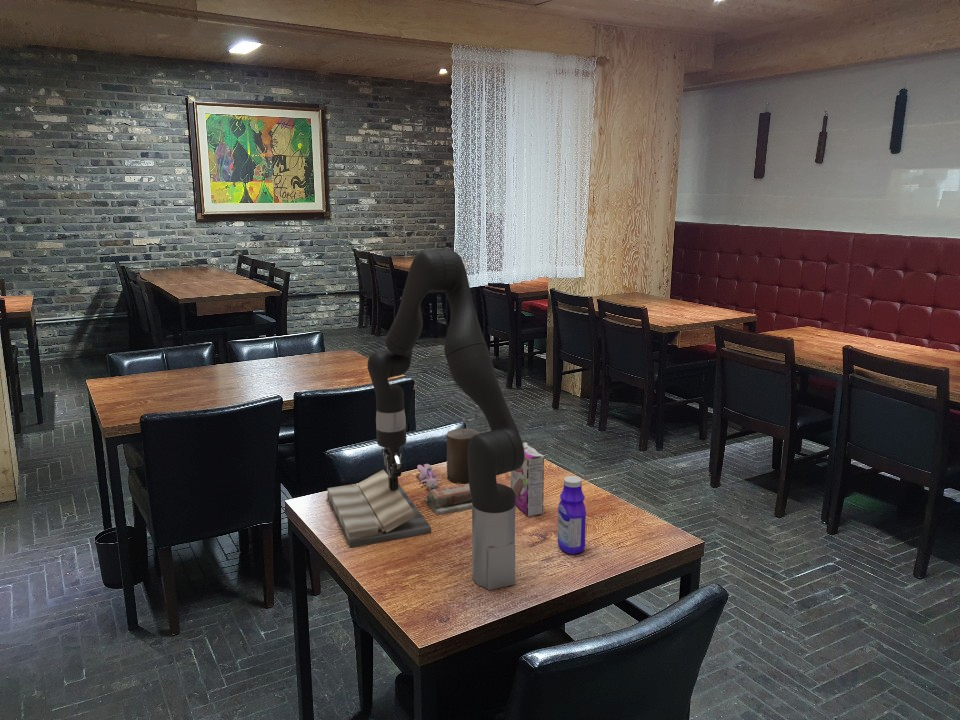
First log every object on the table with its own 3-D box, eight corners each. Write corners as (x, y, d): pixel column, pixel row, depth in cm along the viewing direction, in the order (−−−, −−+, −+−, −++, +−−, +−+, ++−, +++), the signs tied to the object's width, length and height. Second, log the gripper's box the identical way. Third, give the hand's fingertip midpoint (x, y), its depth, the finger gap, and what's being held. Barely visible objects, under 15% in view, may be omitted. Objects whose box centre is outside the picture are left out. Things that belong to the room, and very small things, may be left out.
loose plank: (415, 516, 170) (412, 509, 169) (383, 534, 168) (380, 528, 167) (386, 475, 195) (383, 469, 195) (358, 490, 193) (355, 484, 192)
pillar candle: (475, 485, 200) (475, 435, 197) (442, 481, 202) (442, 432, 199) (482, 472, 209) (483, 425, 206) (451, 470, 212) (451, 422, 208)
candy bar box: (509, 500, 190) (509, 443, 186) (525, 498, 191) (526, 441, 188) (526, 517, 180) (527, 458, 176) (544, 514, 181) (545, 455, 178)
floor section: (431, 532, 172) (430, 519, 171) (350, 547, 164) (349, 534, 163) (397, 487, 199) (397, 476, 198) (327, 498, 191) (326, 486, 190)
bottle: (553, 543, 166) (554, 475, 162) (574, 539, 168) (576, 471, 164) (567, 557, 160) (569, 486, 156) (589, 553, 161) (591, 483, 158)
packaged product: (436, 500, 180) (423, 486, 189) (436, 517, 181) (424, 502, 190) (499, 488, 187) (484, 475, 196) (499, 505, 188) (484, 491, 197)
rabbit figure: (445, 495, 197) (431, 468, 210) (445, 477, 195) (432, 451, 208) (423, 498, 195) (411, 471, 208) (423, 479, 193) (411, 453, 206)
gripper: (412, 432, 173) (414, 496, 177) (398, 416, 185) (400, 477, 189) (383, 436, 170) (386, 501, 174) (370, 420, 182) (373, 482, 186)
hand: (393, 489), depth 182 cm, fingers closed
